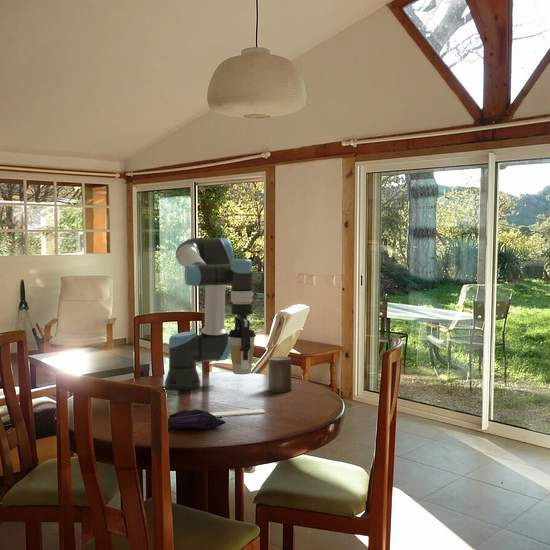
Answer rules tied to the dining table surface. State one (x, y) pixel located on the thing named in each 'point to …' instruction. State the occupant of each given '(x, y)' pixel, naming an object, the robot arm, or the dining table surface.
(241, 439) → the dining table surface
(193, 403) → the dining table surface
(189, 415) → the crystal
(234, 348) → the coffee cup
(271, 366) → the pillar candle
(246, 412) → the cream flat slat
